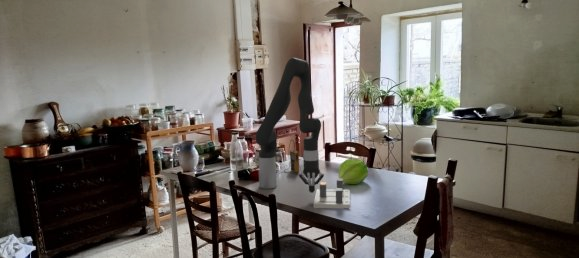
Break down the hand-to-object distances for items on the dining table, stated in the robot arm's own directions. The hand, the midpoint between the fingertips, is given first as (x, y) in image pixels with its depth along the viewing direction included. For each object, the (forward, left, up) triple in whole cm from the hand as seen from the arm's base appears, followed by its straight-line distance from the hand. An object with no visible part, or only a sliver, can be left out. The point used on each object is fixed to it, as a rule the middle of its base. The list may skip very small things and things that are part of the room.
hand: (311, 192), depth 202 cm
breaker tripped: (+6, 0, -2) cm, 6 cm away
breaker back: (+14, +8, -2) cm, 16 cm away
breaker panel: (+10, 0, -4) cm, 11 cm away
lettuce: (+20, +27, -4) cm, 34 cm away
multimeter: (-18, +50, -4) cm, 53 cm away
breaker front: (+14, -8, -2) cm, 16 cm away
